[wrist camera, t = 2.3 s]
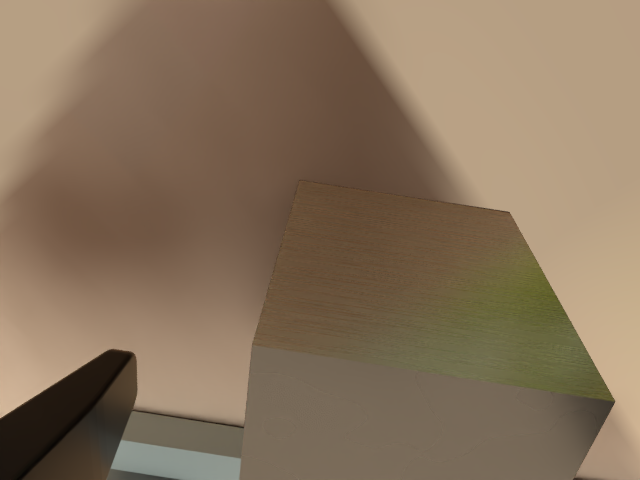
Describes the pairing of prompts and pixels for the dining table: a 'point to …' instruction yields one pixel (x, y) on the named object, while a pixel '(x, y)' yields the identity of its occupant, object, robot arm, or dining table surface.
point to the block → (414, 349)
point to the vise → (176, 450)
